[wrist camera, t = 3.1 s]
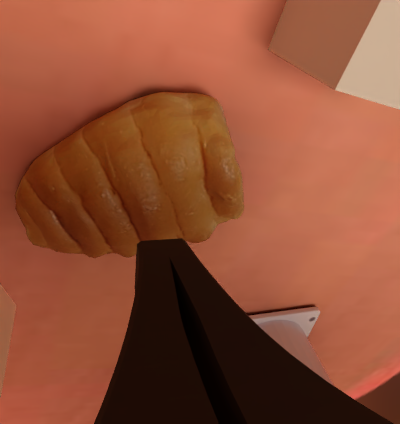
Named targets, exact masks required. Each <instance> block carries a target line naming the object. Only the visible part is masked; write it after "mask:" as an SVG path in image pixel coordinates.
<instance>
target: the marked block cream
mask: <svg viewBox="0 0 400 424" xmlns="http://www.w3.org/2000/svg"><path fill="white" fill-rule="evenodd" d="M16 307H17V305H16V304H15V303H14V301H13V300H12V299H11V297H10V296H9V294H8V293H7V292H6V290H5V289H4V288H3V286H2V285H1V284H0V397H1V392H2V386H3V381H4V375H5V369H6V364H7V358H8V352H9V347H10V341H11V336H12V330H13V324H14V319H15V313H16Z"/></svg>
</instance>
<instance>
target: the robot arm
mask: <svg viewBox="0 0 400 424" xmlns="http://www.w3.org/2000/svg"><path fill="white" fill-rule="evenodd" d="M319 314H320V311H319V309H318V308H317V307H309V308H302V309H294V310H287V311H279V312H272V313H265V314H257V315H250V316H248V315H247V314H246V313H245V312H244V311H243V310H242V309H241V308H240V307H239V306H238V305H237V304H236V303H235V302H234V300H233V299H232V298H231V297H230V296H229V295H228V294H227V293H226V292H225V290H224V289H223V288H222V287H221V286H220V285H219V284H218V282H217V281H216V280H215V279H214V278H213V277H212V275H211V274H210V273H209V272H208V270H207V269H206V268H205V267H204V265H203V264H202V263H201V262H200V260H199V259H198V258H197V256H196V255H195V254H194V252H193V251H192V250H191V248H190V247H189V246H188V244H187V243H186V241H185V240H184V239H182V238H178V239H162V240H145V241H140V242H139V243H138V244H137V252H136V273H135V298H134V303H133V307H132V311H131V315H130V320H129V324H128V328H127V332H126V335H125V339H124V342H123V345H122V349H121V352H120V355H119V358H118V361H117V364H116V367H115V370H114V373H113V376H112V379H111V381H110V384H109V387H108V390H107V392H106V395H105V398H104V400H103V403H102V406H101V408H100V411H99V413H98V415H97V418H96V420H95V423H94V424H393V423H392V422H390V421H388V420H387V419H385V418H383V417H382V416H380V415H378V414H377V413H375V412H373V411H372V410H370V409H368V408H367V407H365V406H364V405H362V404H360V403H359V402H357V401H356V400H354V399H352V398H351V397H349V396H348V395H346V394H345V393H344V392H342V391H341V390H339V389H338V388H336V387H335V386H334V384H333V383H332V381H331V379H330V377H329V375H328V374H327V372H326V370H325V368H324V367H323V365H322V363H321V361H320V359H319V358H318V356H317V354H316V352H315V351H314V349H313V347H312V345H311V343H310V342H309V340H308V338H307V337H308V335H309V333H310V332H311V330H312V328H313V326H314V324H315V322H316V320H317V318H318V316H319Z"/></svg>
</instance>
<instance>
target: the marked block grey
mask: <svg viewBox="0 0 400 424" xmlns="http://www.w3.org/2000/svg"><path fill="white" fill-rule="evenodd" d="M268 50H269V51H271V52H272V53H274V54H276V55H277V56H279V57H281V58H282V59H284V60H286V61H287V62H289V63H291V64H292V65H294V66H296V67H297V68H299V69H301V70H302V71H304V72H306V73H307V74H309V75H311V76H312V77H314V78H316V79H317V80H319V81H321V82H322V83H324V84H326V85H327V86H329V87H331V88H332V89H334V90H337V91H340V92H343V93H346V94H350V95H353V96H356V97H360V98H363V99H366V100H370V101H373V102H376V103H380V104H383V105H386V106H389V107H393V108H396V109H399V110H400V0H287V1H286V4H285V6H284V9H283V11H282V14H281V16H280V19H279V22H278V24H277V27H276V29H275V32H274V34H273V37H272V40H271V42H270V45H269V47H268Z"/></svg>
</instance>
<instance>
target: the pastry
mask: <svg viewBox="0 0 400 424" xmlns="http://www.w3.org/2000/svg"><path fill="white" fill-rule="evenodd" d="M15 198H16V210H17V212H18V215H19V217H20V219H21V221H22V223H23V225H24V226H25V228H26V234H27V236H28V238H29V240H30V241H31V242H32V243H33V245H37V246H40V247H45V248H50V249H52V250H54V251H57V252H63V253H78V254H85V255H87V256H89V257H92V258H96V257H99V256H102V255H104V254H108V253H117V254H120V255H122V256H124V257H132V256H134V255H135V254H136V252H137V244H138V243H139V242H140V241H145V240H162V239H178V238H182V239H184V240H185V241H188V242H191V243H199V242H202V241H205V240H207V239H208V238H209V237H210V235H211V234H212V232H213V231H214V229H215V227H216V226H217V225H218V224H219V223H222V222H226V221H228V220H230V219H238V218H239V217H240V216H241V214H242V213H243V210H244V204H243V185H242V175H241V170H240V168H239V165H238V163H237V161H236V159H235V148H234V145H233V143H232V141H231V138H230V134H229V130H228V127H227V124H226V119H225V117H224V114H223V108H222V106H221V104H220V103H219V102H218V101H217V100H216V99H215V98H213V97H211V96H208V95H204V94H198V93H175V92H159V93H154V94H150V95H147V96H144V97H140V98H137V99H134V100H130V101H128V102H127V103H125V104H124V105H122V106H120V107H119V108H117V109H116V110H114V111H110V112H108V113H106V114H105V115H103V116H102V117H100V118H98V119H96V120H94V121H91V122H90V123H88V124H87V125H85V126H84V127H82V128H81V129H79V130H77V131H76V132H74V133H73V134H72V135H70V136H69V137H67V138H66V139H64V140H63V141H61V142H60V143H58V144H57V145H55V146H54V147H52V148H50V149H49V150H47V151H46V152H44V153H43V154H42V155H40V156H39V157H38V158H36V159H35V160H34V162H33V163H32V164H31V166H30V167H29V169H28V170H27V172H26V174H25V175H24V176H23V178H22V180H21V182H20V184H19V187H18V189H17V191H16V194H15Z"/></svg>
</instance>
